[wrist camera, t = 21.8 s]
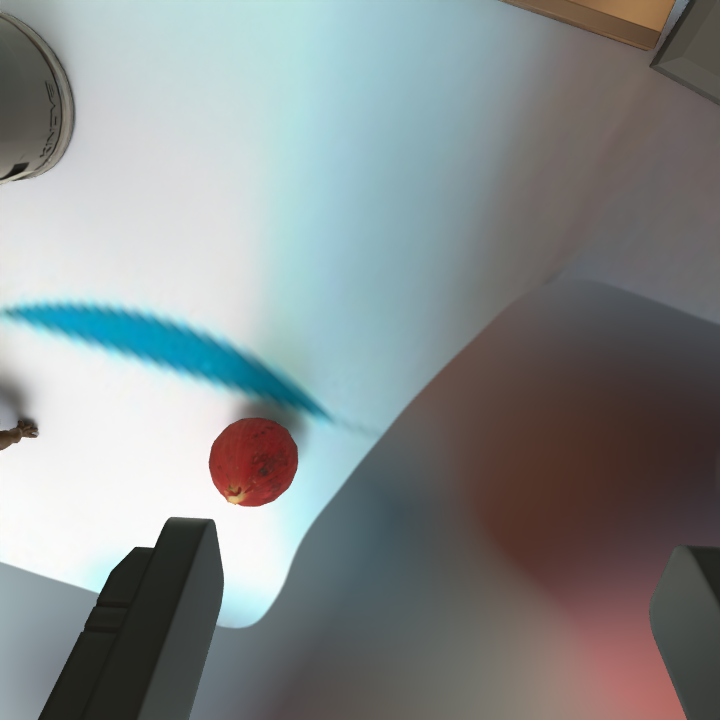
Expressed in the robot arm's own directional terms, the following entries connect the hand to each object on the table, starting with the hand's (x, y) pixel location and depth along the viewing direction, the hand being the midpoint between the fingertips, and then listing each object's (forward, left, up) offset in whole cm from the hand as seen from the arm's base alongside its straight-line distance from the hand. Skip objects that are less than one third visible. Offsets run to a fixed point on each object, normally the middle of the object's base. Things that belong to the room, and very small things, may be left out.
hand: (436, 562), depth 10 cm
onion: (-6, -17, -28) cm, 33 cm away
